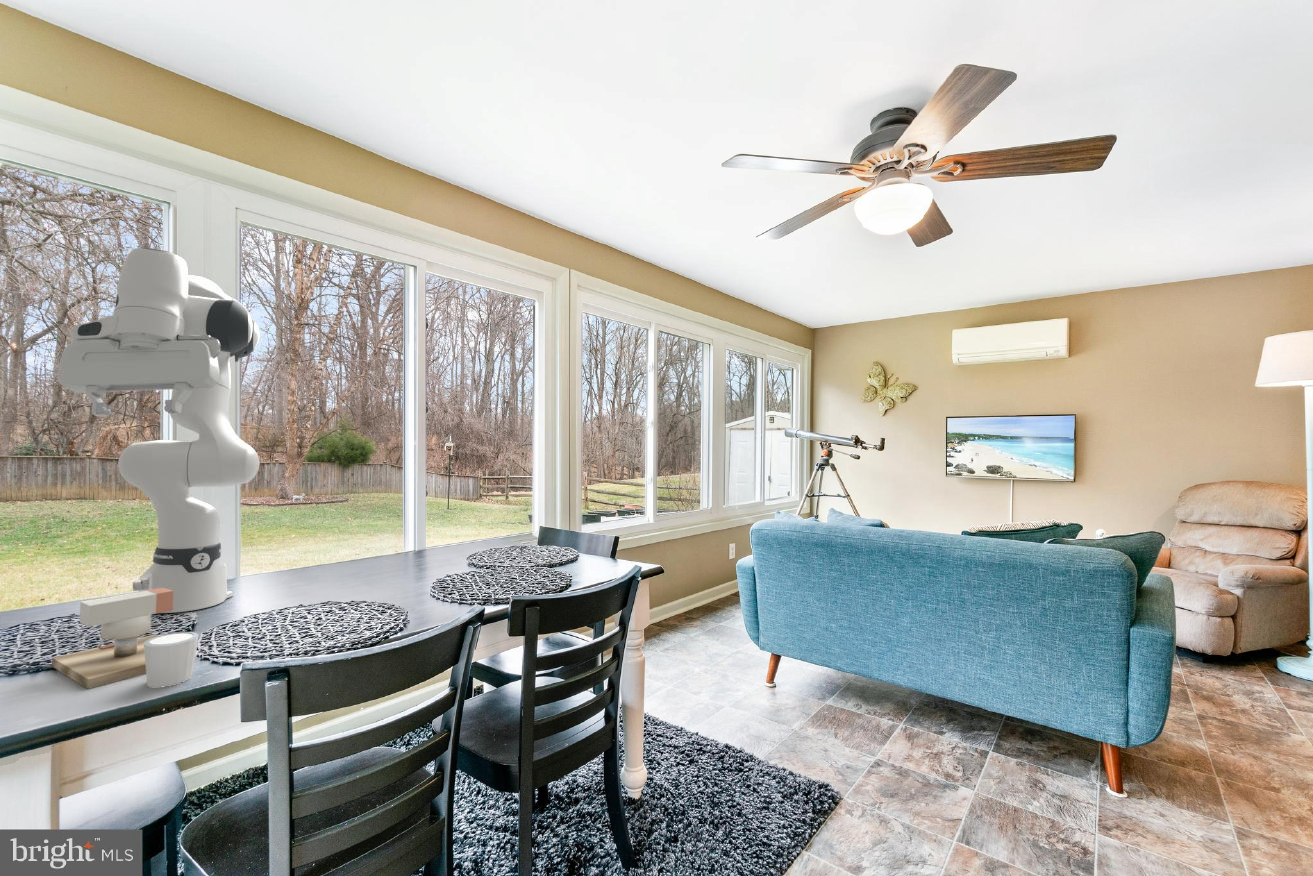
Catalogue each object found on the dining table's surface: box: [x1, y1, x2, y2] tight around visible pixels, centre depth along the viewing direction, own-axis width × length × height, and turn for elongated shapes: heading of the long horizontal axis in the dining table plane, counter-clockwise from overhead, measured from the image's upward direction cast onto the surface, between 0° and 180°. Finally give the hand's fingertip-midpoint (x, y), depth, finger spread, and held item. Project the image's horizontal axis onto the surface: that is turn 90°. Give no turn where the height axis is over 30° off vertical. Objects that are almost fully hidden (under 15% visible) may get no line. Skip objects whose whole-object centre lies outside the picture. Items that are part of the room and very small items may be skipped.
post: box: [113, 636, 139, 658], centre depth 98 cm, size 3×3×4 cm
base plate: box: [51, 634, 159, 690], centre depth 98 cm, size 16×14×2 cm
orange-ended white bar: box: [79, 588, 173, 640], centre depth 98 cm, size 6×11×7 cm, turn 152°
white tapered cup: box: [144, 631, 199, 688], centre depth 92 cm, size 7×7×7 cm
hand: (137, 413), depth 87 cm, fingers open, 8 cm apart
